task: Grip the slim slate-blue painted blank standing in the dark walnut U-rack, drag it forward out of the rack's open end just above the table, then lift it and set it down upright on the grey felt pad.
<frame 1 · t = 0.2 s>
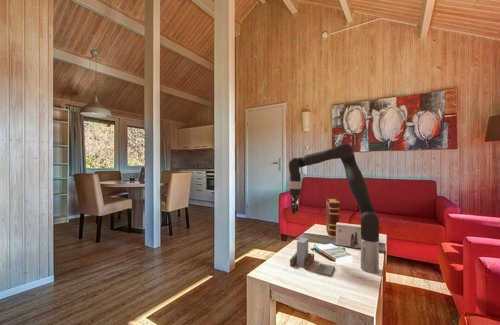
hand: (295, 212, 153), 28 cm above the table, fingers open, 8 cm apart
skincare box: (351, 246, 171), on the table
blank: (302, 263, 141), resting in rack
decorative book: (332, 234, 200), on the table
rack: (302, 263, 140), on the table
pad: (325, 270, 131), on the table
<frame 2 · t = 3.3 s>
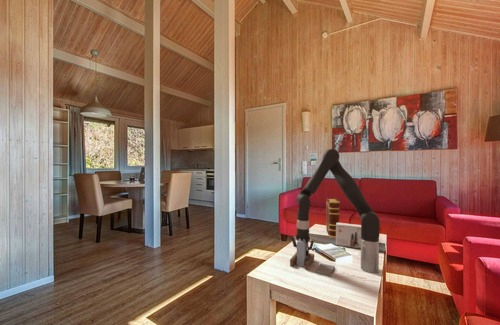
hand: (302, 254, 141), 5 cm above the table, fingers closed on blank, 4 cm apart
blank: (302, 262, 141), resting in rack, touching gripper
everything else where it was.
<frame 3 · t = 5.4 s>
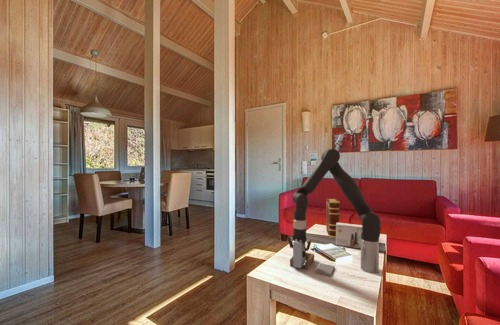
hand: (299, 256, 135), 6 cm above the table, fingers closed on blank, 4 cm apart
blank: (299, 264, 135), point 1 cm above the table, touching gripper
everything else where it was.
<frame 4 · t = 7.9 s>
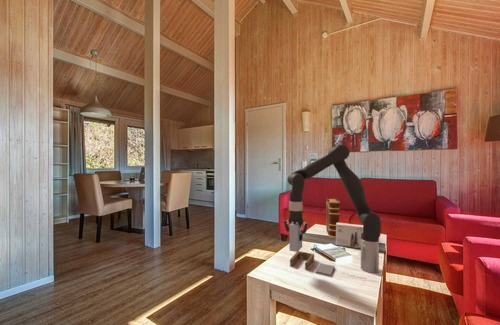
hand: (295, 239, 128), 18 cm above the table, fingers closed on blank, 4 cm apart
blank: (296, 248, 128), point 13 cm above the table, touching gripper
everything else where it was.
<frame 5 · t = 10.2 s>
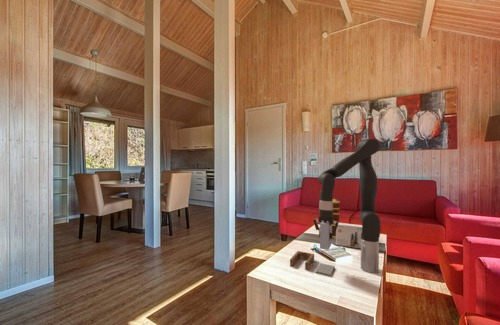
hand: (325, 238, 131), 18 cm above the table, fingers closed on blank, 4 cm apart
blank: (325, 246, 131), point 13 cm above the table, touching gripper
everything else where it was.
when the fingers open (7 cm above the table, at t = 12.5 s): blank stays where it is, resting on pad.
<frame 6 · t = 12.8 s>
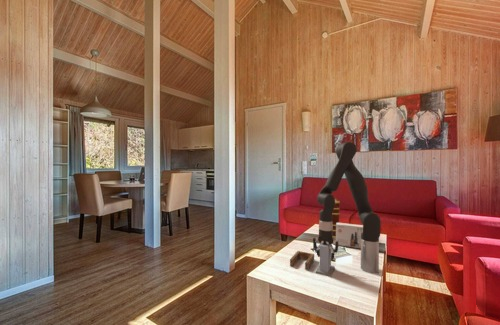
hand: (325, 257, 131), 7 cm above the table, fingers open, 6 cm apart
blank: (325, 268, 131), point 1 cm above the table, touching pad
everything else where it was.
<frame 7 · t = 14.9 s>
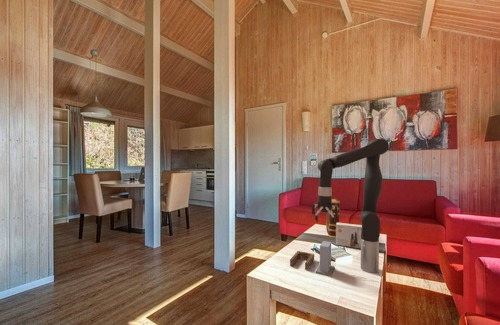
hand: (324, 222, 134), 27 cm above the table, fingers open, 8 cm apart
nothing on the table moved.
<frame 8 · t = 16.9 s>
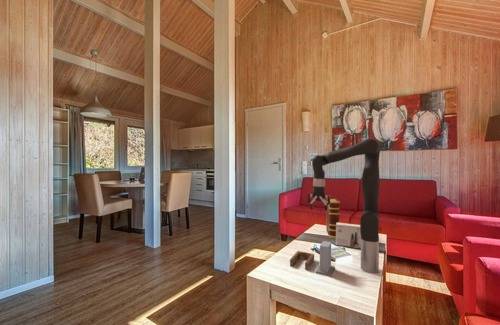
hand: (318, 210, 152), 30 cm above the table, fingers open, 8 cm apart
nothing on the table moved.
at the end: blank 0.1 cm from the pad (horizontally); blank tilted 0°; the gripper is holding nothing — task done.
